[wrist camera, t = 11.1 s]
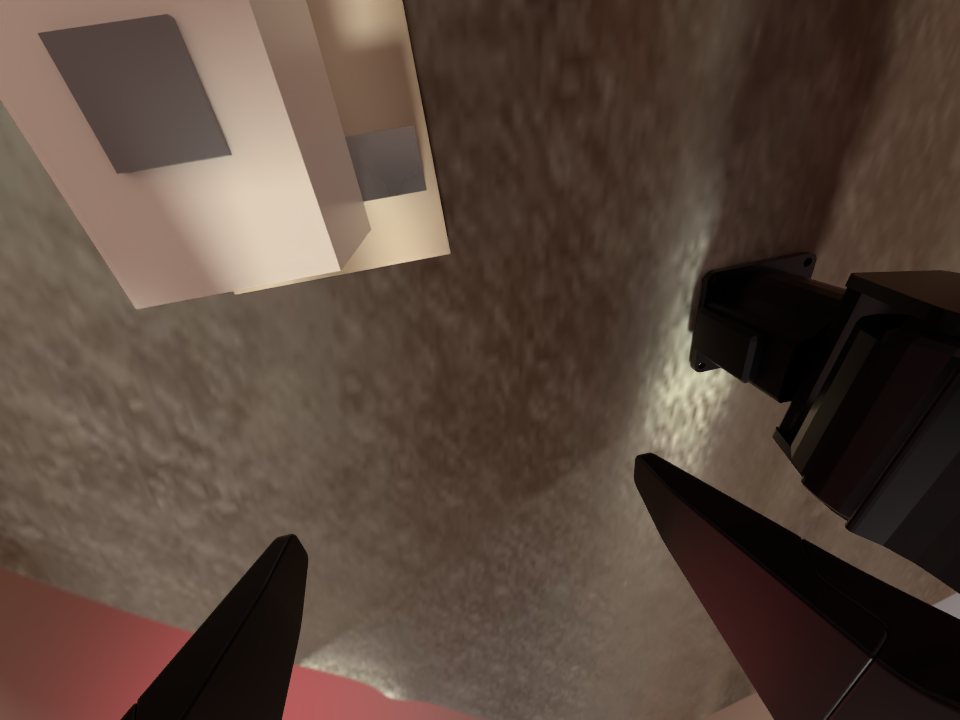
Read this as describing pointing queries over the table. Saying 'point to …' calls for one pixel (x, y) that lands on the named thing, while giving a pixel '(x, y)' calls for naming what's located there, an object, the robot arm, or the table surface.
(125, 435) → the table surface
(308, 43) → the power strip
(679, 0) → the table surface
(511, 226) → the table surface
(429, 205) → the stand
